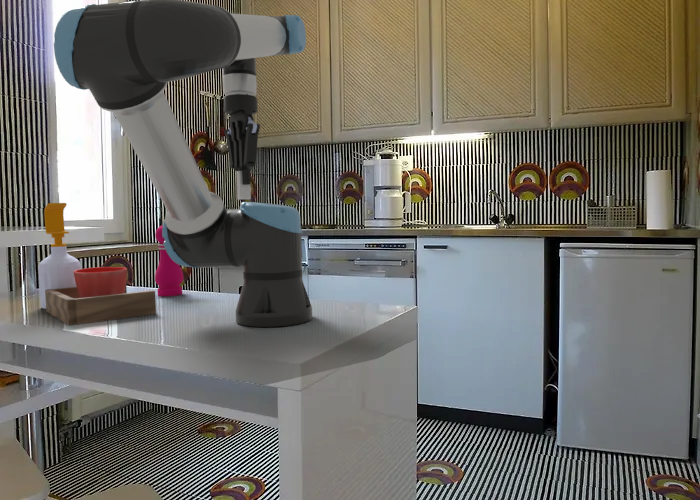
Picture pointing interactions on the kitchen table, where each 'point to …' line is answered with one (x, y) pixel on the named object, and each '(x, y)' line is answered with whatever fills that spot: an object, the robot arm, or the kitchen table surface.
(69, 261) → the soap bottle
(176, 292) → the pepper mill
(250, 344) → the kitchen table surface
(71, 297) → the tray
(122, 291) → the flower pot
